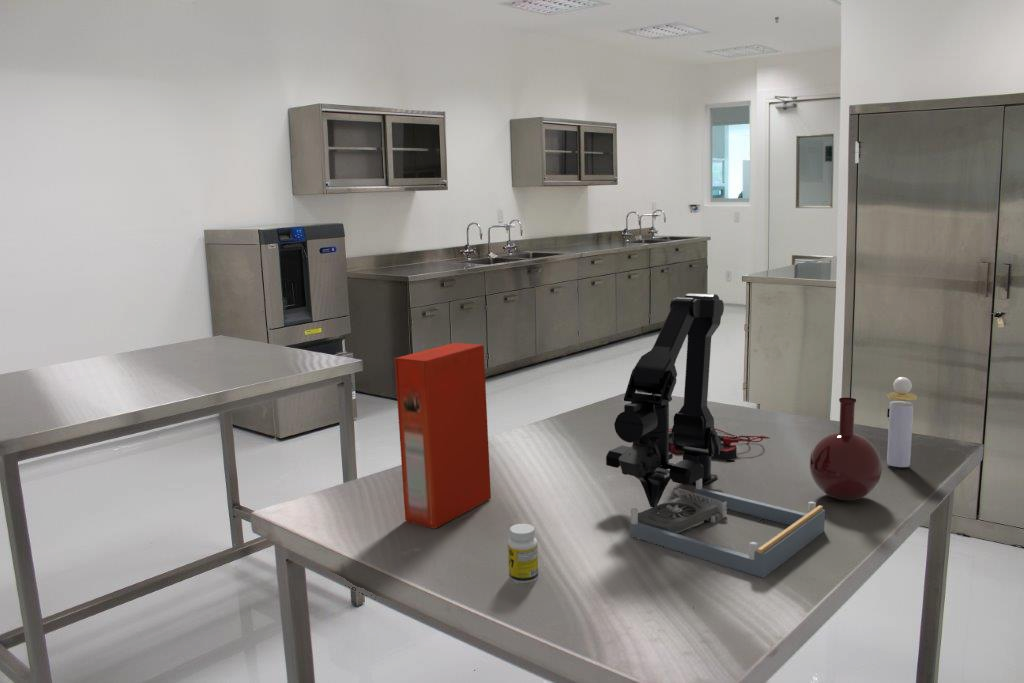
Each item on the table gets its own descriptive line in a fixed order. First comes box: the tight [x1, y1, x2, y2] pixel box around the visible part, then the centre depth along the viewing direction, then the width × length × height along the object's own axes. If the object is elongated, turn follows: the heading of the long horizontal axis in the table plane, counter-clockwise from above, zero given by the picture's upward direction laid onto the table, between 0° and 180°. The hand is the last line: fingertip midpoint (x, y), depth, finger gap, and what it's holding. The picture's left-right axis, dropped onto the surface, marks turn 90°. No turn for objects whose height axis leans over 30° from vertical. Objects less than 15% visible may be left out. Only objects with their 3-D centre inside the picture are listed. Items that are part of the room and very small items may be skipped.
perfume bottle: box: [886, 376, 918, 468], centre depth 175 cm, size 6×6×20 cm
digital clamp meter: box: [669, 427, 770, 461], centre depth 198 cm, size 23×4×25 cm
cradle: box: [629, 478, 826, 579], centre depth 145 cm, size 23×26×5 cm
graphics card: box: [638, 487, 728, 534], centre depth 153 cm, size 17×4×12 cm
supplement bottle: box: [507, 523, 539, 584], centre depth 131 cm, size 5×5×8 cm
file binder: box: [394, 342, 492, 529], centre depth 158 cm, size 8×17×32 cm, turn 145°
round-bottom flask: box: [808, 397, 883, 501], centre depth 159 cm, size 13×13×20 cm
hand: (653, 506), depth 157 cm, fingers closed
